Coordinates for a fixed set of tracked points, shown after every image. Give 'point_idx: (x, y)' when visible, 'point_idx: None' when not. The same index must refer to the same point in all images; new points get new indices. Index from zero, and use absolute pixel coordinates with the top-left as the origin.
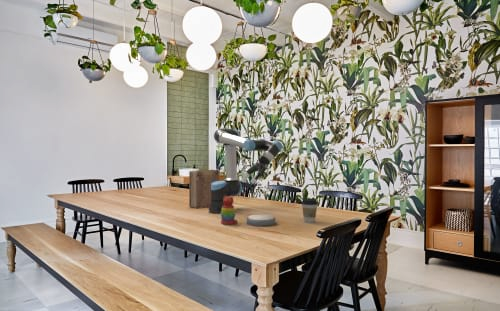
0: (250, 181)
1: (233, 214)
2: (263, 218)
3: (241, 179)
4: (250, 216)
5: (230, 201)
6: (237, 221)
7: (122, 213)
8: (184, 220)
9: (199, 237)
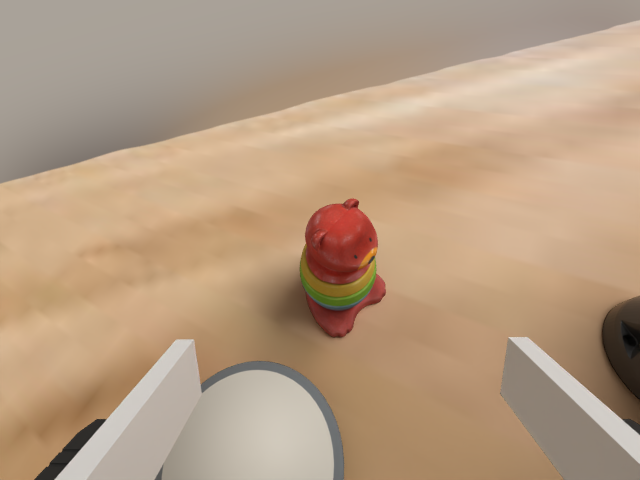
0: (189, 342)
1: (303, 285)
2: (205, 454)
3: (522, 339)
4: (299, 402)
5: (305, 236)
6: (327, 331)
7: (616, 50)
8: (453, 165)
9: (203, 152)
